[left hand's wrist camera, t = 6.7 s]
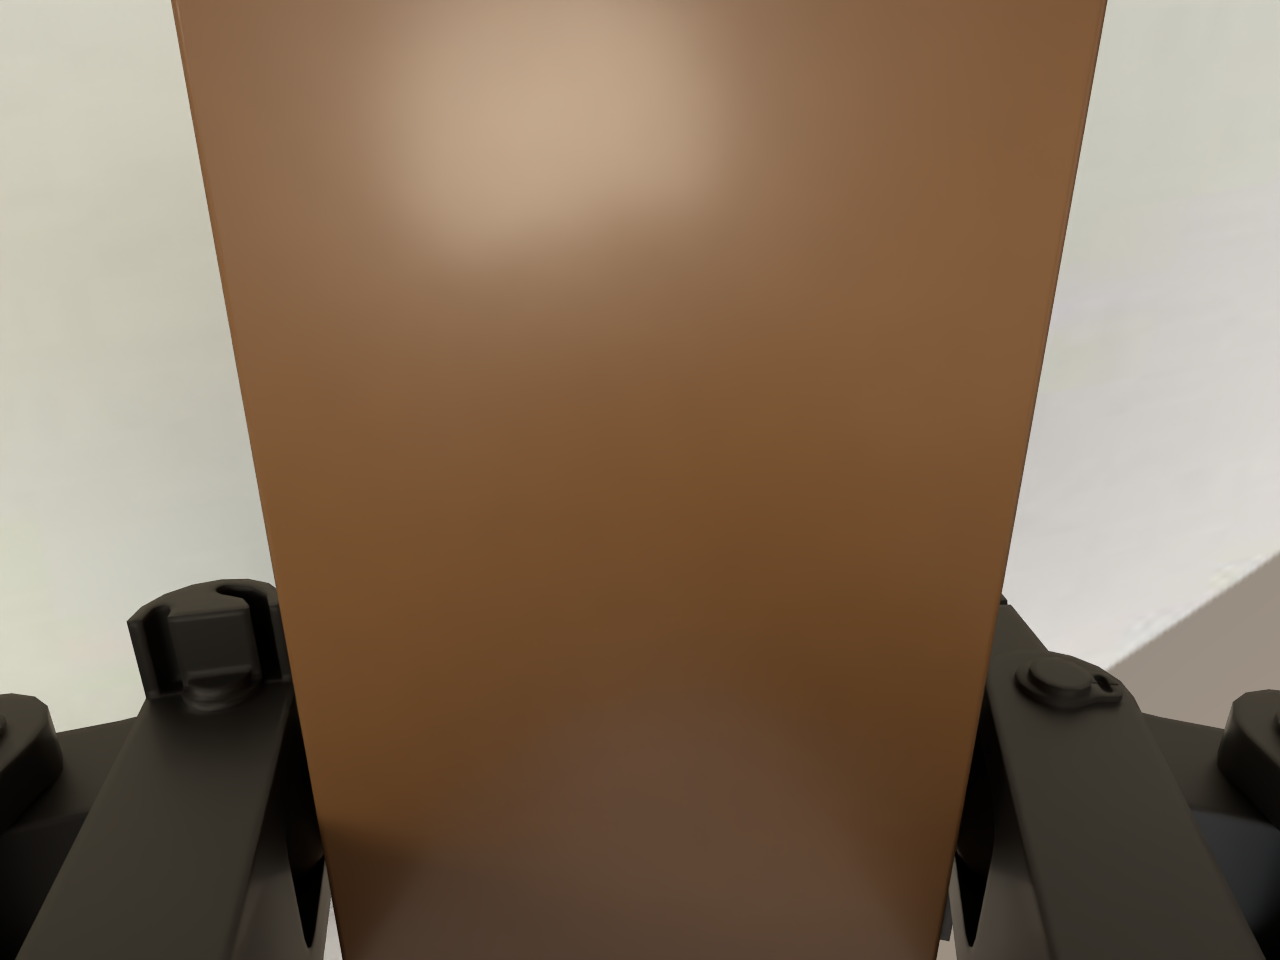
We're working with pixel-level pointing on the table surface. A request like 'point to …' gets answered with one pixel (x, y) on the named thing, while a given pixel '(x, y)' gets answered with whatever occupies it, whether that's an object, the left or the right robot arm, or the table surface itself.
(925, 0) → the bar
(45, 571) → the table surface
